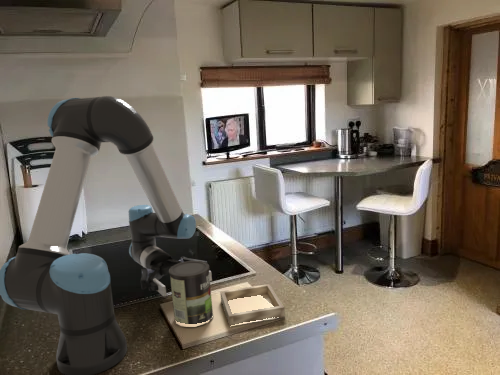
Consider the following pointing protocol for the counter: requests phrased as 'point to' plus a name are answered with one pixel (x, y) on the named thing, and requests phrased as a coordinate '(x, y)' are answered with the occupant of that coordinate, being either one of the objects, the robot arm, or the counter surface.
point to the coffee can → (191, 292)
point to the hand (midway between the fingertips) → (188, 283)
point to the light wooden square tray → (254, 314)
